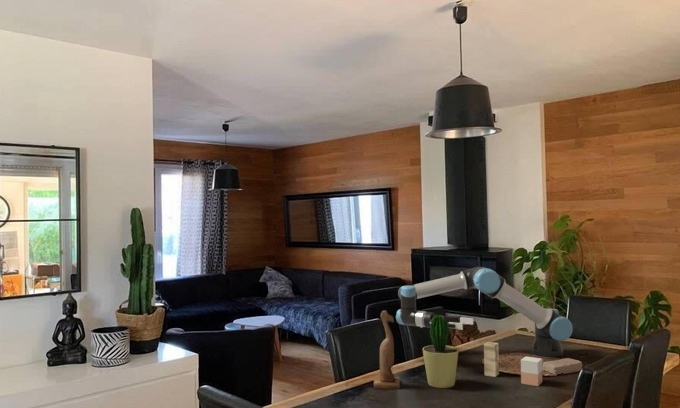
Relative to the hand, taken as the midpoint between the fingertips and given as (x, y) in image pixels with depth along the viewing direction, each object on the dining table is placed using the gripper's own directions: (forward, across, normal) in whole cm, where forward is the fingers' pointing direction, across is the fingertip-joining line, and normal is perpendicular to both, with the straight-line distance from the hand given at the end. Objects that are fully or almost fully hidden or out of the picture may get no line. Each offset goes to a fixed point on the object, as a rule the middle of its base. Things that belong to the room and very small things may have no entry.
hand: (468, 324), depth 240 cm
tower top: (+29, +2, -17) cm, 33 cm away
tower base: (+29, +2, -22) cm, 36 cm away
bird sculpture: (-22, +38, -22) cm, 49 cm away
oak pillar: (+11, 0, -22) cm, 24 cm away
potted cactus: (-3, +24, -22) cm, 33 cm away
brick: (+36, -23, -22) cm, 48 cm away
